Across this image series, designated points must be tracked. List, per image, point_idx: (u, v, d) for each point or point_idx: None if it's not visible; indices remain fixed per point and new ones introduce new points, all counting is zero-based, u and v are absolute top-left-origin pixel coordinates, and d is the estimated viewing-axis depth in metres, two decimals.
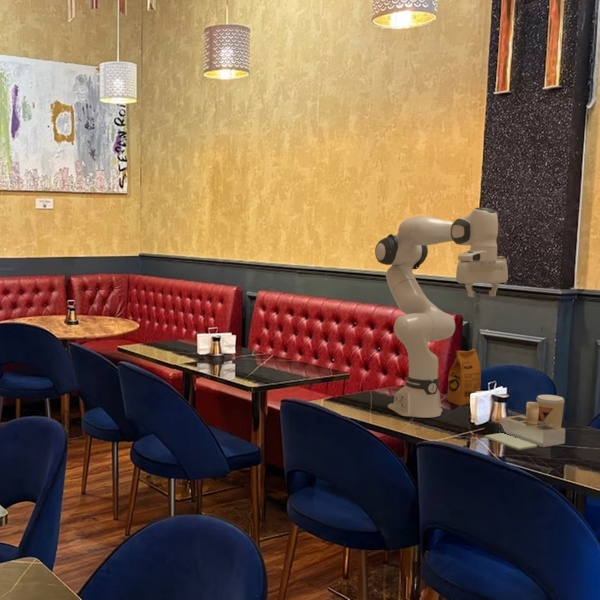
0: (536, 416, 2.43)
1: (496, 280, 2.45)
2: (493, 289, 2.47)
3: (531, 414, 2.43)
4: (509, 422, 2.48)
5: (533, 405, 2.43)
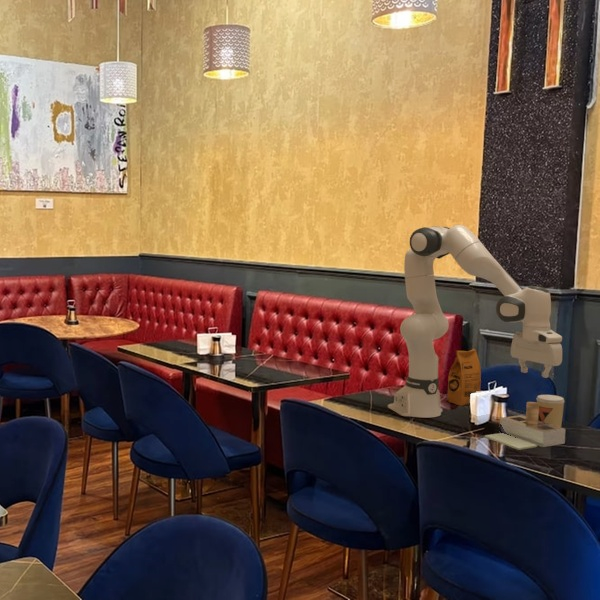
0: (536, 416, 2.43)
1: None
2: (523, 365, 2.48)
3: (531, 414, 2.43)
4: (509, 422, 2.48)
5: (533, 405, 2.43)
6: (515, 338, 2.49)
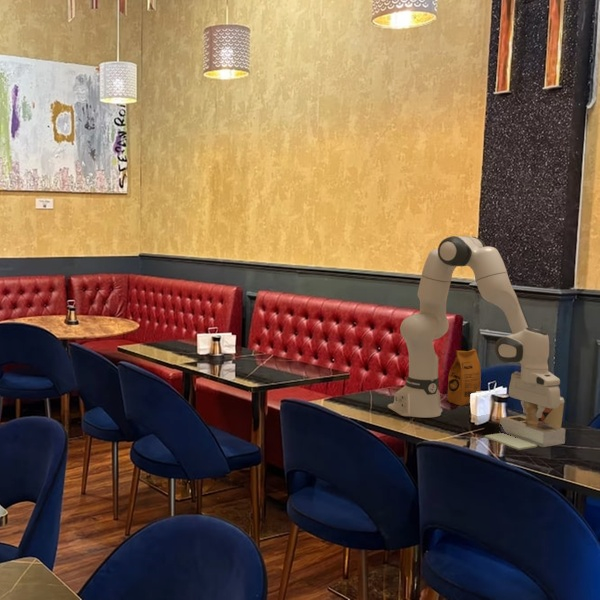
0: None
1: None
2: (526, 407, 2.47)
3: (531, 414, 2.43)
4: (509, 422, 2.48)
5: (533, 405, 2.43)
6: (513, 378, 2.50)
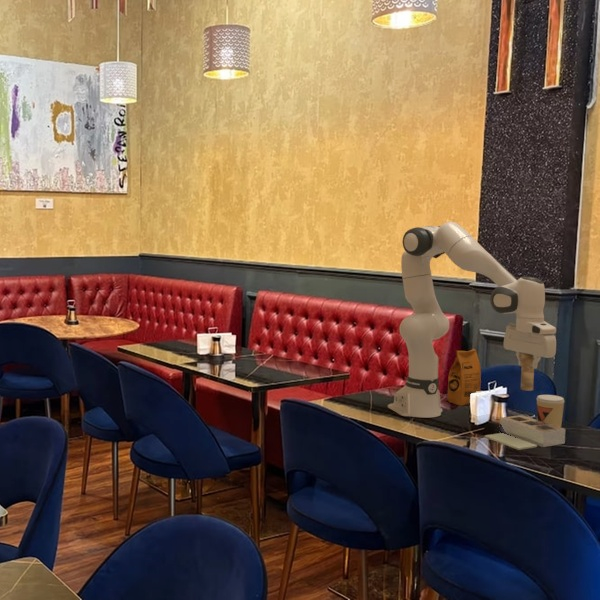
0: None
1: None
2: (521, 358, 2.43)
3: (527, 365, 2.38)
4: (509, 422, 2.48)
5: (529, 355, 2.38)
6: (508, 330, 2.45)
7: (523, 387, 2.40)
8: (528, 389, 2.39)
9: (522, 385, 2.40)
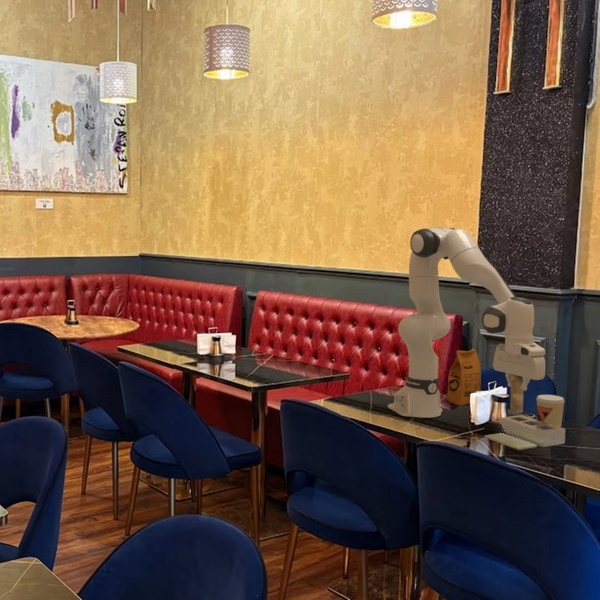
0: None
1: None
2: None
3: (516, 387, 2.35)
4: (509, 422, 2.48)
5: (518, 377, 2.34)
6: (498, 350, 2.41)
7: (512, 409, 2.36)
8: (517, 411, 2.35)
9: (511, 407, 2.36)
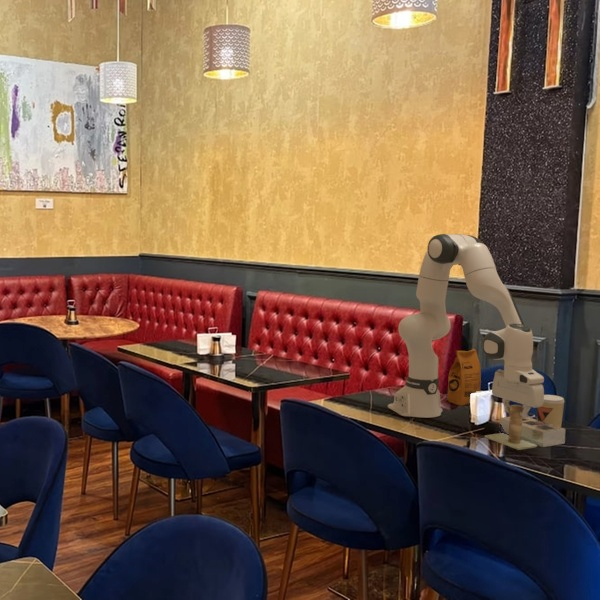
0: (520, 420, 2.36)
1: None
2: (507, 405, 2.41)
3: (515, 418, 2.35)
4: None
5: (517, 408, 2.35)
6: (496, 376, 2.42)
7: (511, 439, 2.37)
8: (516, 442, 2.36)
9: (510, 437, 2.37)
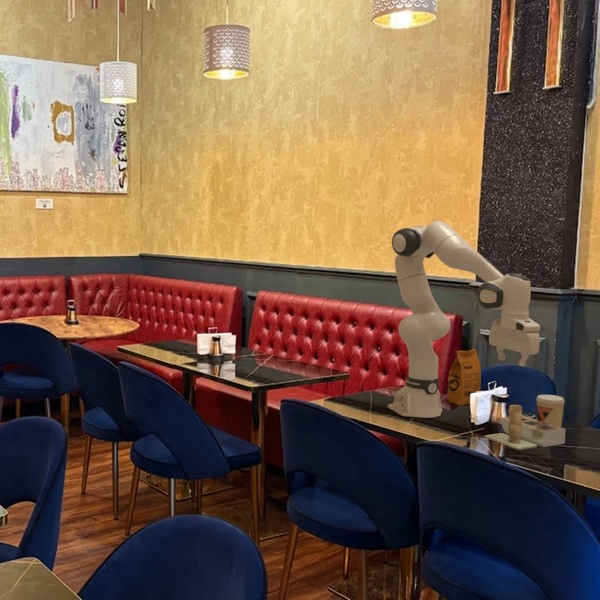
0: (519, 419, 2.36)
1: None
2: (501, 353, 2.46)
3: (514, 417, 2.36)
4: None
5: (516, 408, 2.35)
6: (494, 325, 2.46)
7: (510, 439, 2.37)
8: (516, 442, 2.36)
9: (510, 438, 2.37)
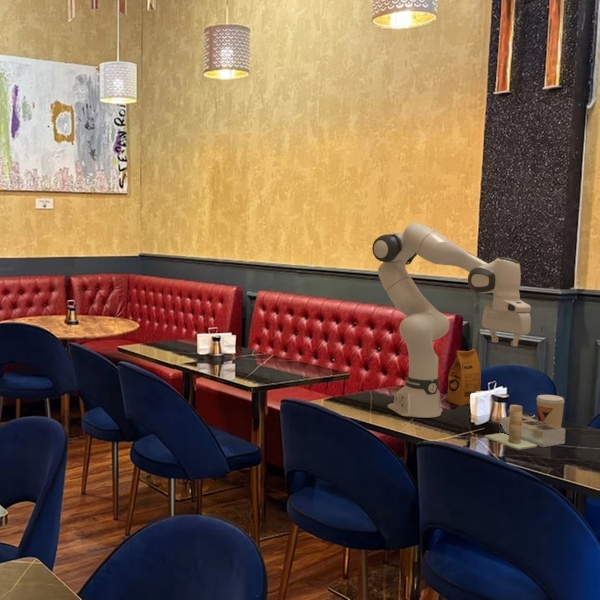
0: (519, 419, 2.36)
1: None
2: (494, 335, 2.54)
3: (514, 417, 2.36)
4: None
5: (516, 408, 2.35)
6: (486, 309, 2.54)
7: (510, 439, 2.37)
8: (516, 442, 2.36)
9: (510, 437, 2.37)
